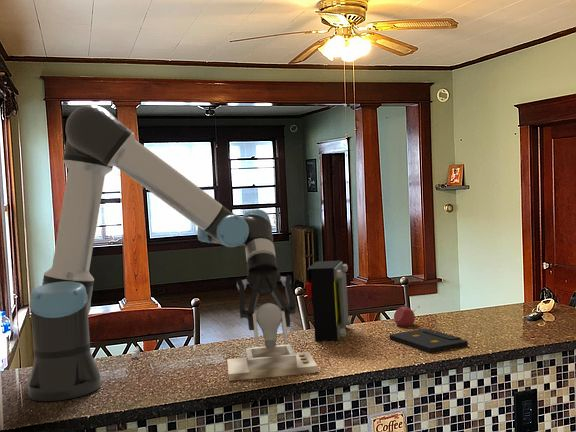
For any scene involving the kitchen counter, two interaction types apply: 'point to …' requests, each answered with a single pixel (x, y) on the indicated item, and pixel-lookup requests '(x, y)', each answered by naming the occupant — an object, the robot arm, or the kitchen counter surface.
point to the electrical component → (328, 299)
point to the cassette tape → (429, 340)
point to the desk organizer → (270, 363)
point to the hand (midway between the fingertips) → (271, 339)
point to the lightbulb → (269, 323)
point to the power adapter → (136, 353)
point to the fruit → (404, 317)
